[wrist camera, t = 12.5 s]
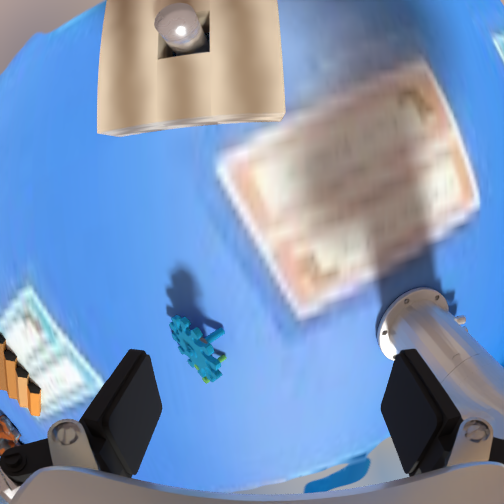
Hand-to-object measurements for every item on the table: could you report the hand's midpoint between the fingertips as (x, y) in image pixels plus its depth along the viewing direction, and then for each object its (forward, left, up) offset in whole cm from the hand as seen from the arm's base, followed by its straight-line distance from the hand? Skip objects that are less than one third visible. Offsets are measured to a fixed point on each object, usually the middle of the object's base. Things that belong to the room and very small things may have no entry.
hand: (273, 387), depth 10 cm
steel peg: (+7, -23, -27) cm, 36 cm away
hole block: (+7, -23, -27) cm, 36 cm away
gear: (+9, +15, -27) cm, 33 cm away
